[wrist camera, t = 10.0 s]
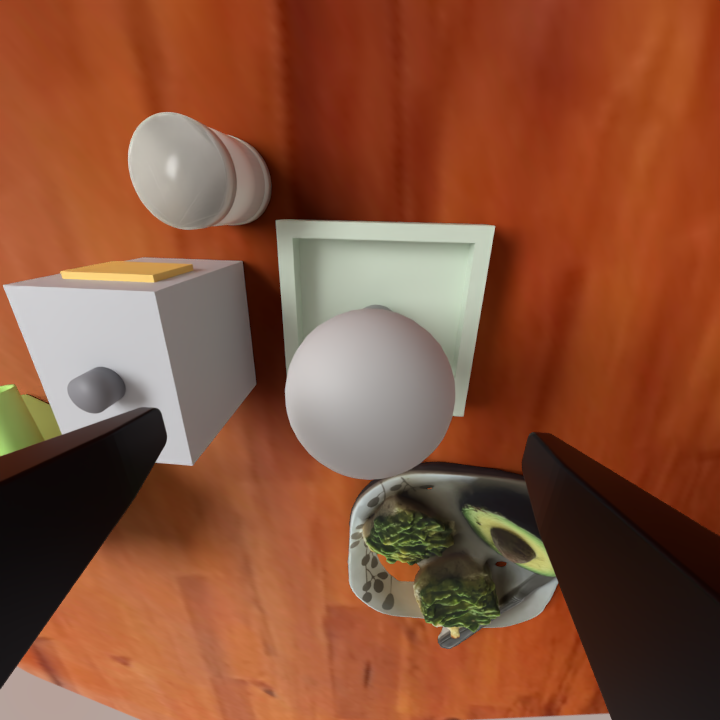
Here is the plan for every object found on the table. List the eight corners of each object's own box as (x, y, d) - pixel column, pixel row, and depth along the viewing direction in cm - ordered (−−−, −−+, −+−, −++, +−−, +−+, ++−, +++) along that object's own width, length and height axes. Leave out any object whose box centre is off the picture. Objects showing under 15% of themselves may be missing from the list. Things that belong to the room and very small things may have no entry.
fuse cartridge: (265, 135, 17) (217, 109, 13) (276, 223, 19) (236, 228, 14) (188, 139, 18) (114, 115, 13) (205, 225, 19) (144, 230, 15)
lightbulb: (428, 368, 21) (464, 522, 11) (329, 369, 21) (278, 518, 12) (432, 265, 18) (482, 346, 8) (318, 270, 19) (241, 351, 9)
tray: (486, 224, 18) (495, 226, 16) (458, 401, 22) (463, 416, 21) (285, 218, 19) (275, 220, 17) (296, 390, 23) (288, 404, 21)
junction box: (241, 255, 20) (133, 289, 12) (256, 388, 23) (181, 486, 15) (142, 251, 20) (-31, 282, 12) (171, 382, 24) (53, 475, 15)
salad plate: (530, 639, 32) (551, 704, 28) (340, 609, 33) (332, 669, 29) (613, 478, 24) (659, 535, 20) (358, 444, 25) (351, 492, 21)
